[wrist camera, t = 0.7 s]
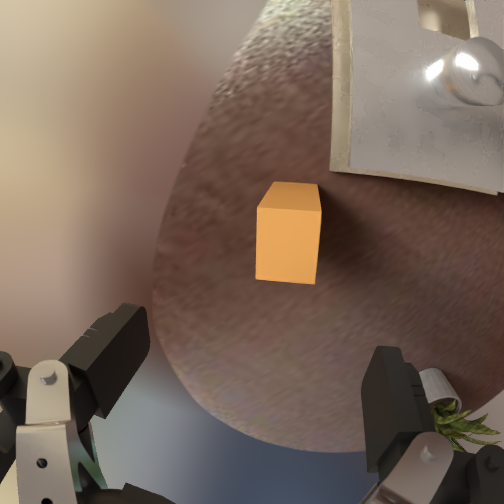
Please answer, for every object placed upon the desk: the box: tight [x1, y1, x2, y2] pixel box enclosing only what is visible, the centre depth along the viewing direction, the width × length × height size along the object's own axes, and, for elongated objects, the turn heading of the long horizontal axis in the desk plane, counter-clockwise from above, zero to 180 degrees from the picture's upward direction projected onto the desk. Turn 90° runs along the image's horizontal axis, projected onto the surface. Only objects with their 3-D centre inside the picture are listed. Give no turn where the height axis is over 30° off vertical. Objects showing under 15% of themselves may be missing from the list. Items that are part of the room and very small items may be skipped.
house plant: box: [419, 368, 500, 452], centre depth 27 cm, size 14×14×16 cm
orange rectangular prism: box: [256, 182, 322, 284], centre depth 25 cm, size 4×5×10 cm
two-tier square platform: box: [329, 0, 504, 195], centre depth 16 cm, size 18×21×12 cm
